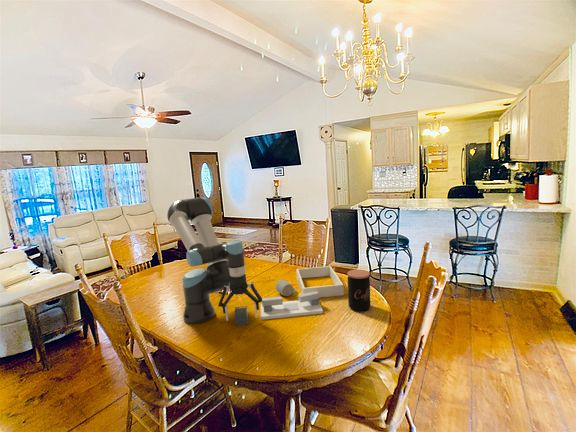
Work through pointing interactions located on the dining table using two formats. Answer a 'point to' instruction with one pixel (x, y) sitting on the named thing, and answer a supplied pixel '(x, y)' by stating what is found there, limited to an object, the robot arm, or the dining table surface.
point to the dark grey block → (241, 316)
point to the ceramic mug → (285, 288)
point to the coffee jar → (359, 290)
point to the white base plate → (291, 306)
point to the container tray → (322, 290)
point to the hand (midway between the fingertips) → (242, 317)
